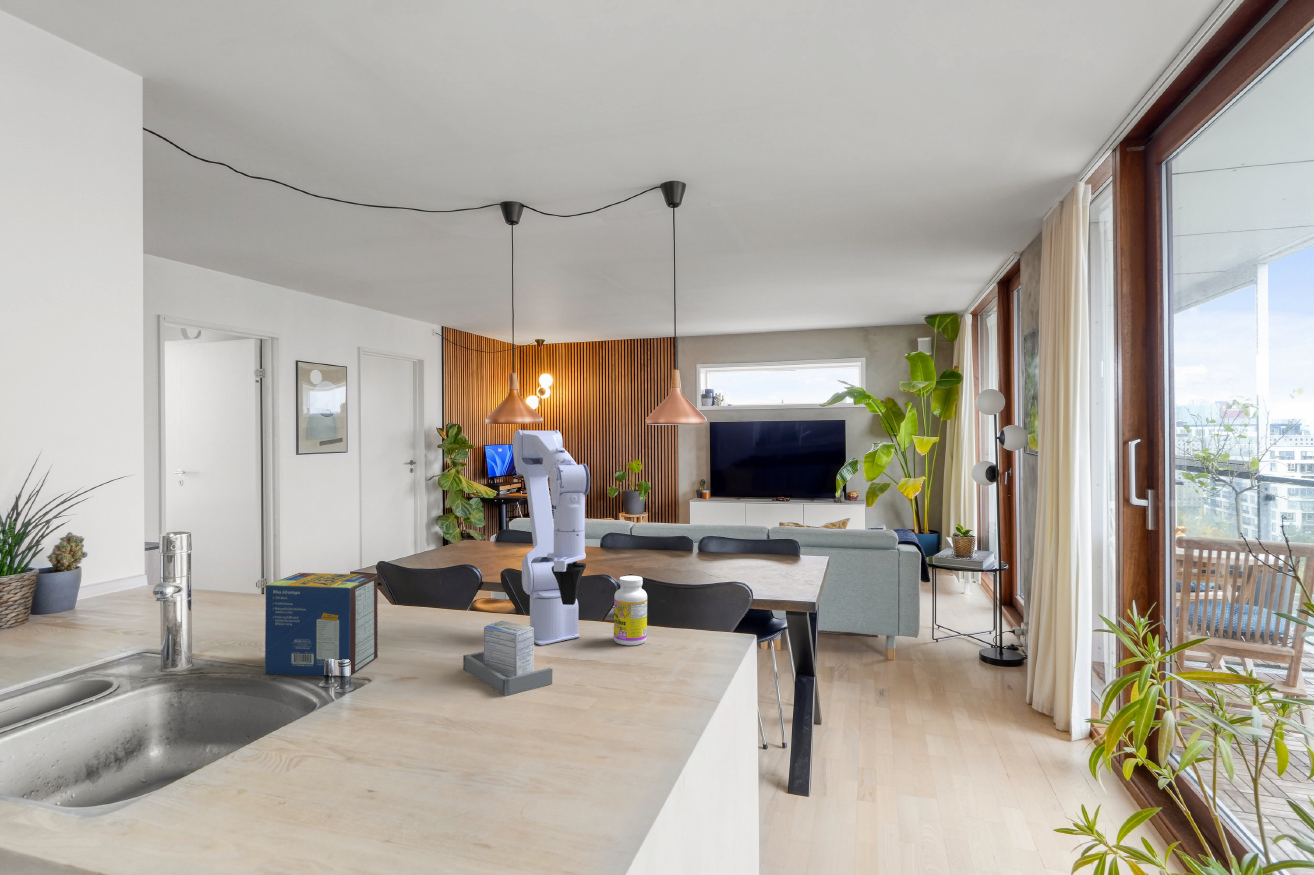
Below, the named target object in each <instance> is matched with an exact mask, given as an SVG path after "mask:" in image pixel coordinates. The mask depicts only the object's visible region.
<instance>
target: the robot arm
mask: <svg viewBox="0 0 1314 875" xmlns="http://www.w3.org/2000/svg"><path fill="white" fill-rule="evenodd" d="M563 445H564V444H563V435H562V433H561V432H560V431H559V430H558V429H554V430H528V429H527V430H526V429H525V430H524V429H523V430H521V429H517V430H516V431H515V432H514V434H513V438H512V454H513V462H514V467H515V471H516V473H518V474H520V475H522V476H523V478H524V479H523V480H524V484H525V488H526V495H527V496H526V497H527V504H528V512H529V521H530V529H531V537H532V538H531V539H532V545H533V548H532V549H531V550H529V551H528V552H527V553H526V554H525V555H524V556H523V558H522V562H521V585H522V589H523V591H524V592H525V593H526V595H529V627H533V628H534V644H536V645H539V646H544V645H549V644H554V643H558V642H563V641H567V640H572V639H577V638H580V637H581V634H580V633H579V602H578V599H577V597H578V592H579V587H580V583H581V580H582V577H583V574H584V571H585V570H586V567H587V563H584V562H579V561H582V560H585V559H586V558H587V555H586V554H587V553H586V552H585V551H586V535H585V534H586V496H587V495H588V494H589V491H590V487H591V475H590V470H589V467H588V465H587V464H586V463H580V464H577V462H576V461H575V460H574V459H573V457H572V456H571V454H570V453H569V452H568V451H567V450H566V449H565V448H564V447H563ZM548 479H549V481H548ZM549 488H550V490H549ZM550 493H551V496H550ZM552 506H553V511H552Z"/></svg>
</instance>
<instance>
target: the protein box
mask: <svg viewBox="0 0 1314 875" xmlns="http://www.w3.org/2000/svg"><path fill="white" fill-rule="evenodd" d="M378 585H379V584H378V574H373V573H372V574H371V573H364V574H361V573H332V572H331V573H327V572H326V573H322V572H321V573H318V572H317V573H315V572H314V573H313V572H298V573H295V574H292V575H289V576H287V577H284V578H281V579H278V580H275V581H273V582H269V583H267V584H265V624H264V625H265V630H264V631H265V634H264V635H265V638H264V639H265V641H264V644H265V645H264V646H265V649H264V674H265V675H281V676H282V675H285V676H314V677H325V676H324V661H325V659H328V658H331V659H335V660H342V659H349V660H350V661H351V676H353V675H355V673H357V672H359V671H360V670H361V669H363V668H365V667H366V666H367V665H368V664H370V663H372V662H373V661H375V659H378V656H379V654H378V651H379V650H378V649H379V648H378V647H379V646H378V632H379V630H378V622H379V621H378V616H379V615H378V602H379V601H378V592H379V591H378V590H379V589H378V587H379V586H378Z"/></svg>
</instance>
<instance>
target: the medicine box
mask: <svg viewBox="0 0 1314 875" xmlns="http://www.w3.org/2000/svg"><path fill="white" fill-rule="evenodd" d="M483 651H484V665H486V666H488V667H490V668H491V669H493V670H495V671H496V672H498V673H500V674H501V675H503V676H505V677H506V678H509V677H513V676H517V675H522V674H526V673H530V672H534V671H535V643H534V628H533V627H530V625H525V624H520V623H515V622H509V621H504V620H499V621H496V622H495V621H494V622H493V623H490V624H487V625H485V626H483Z"/></svg>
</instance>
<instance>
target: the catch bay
mask: <svg viewBox="0 0 1314 875" xmlns="http://www.w3.org/2000/svg"><path fill="white" fill-rule="evenodd" d="M462 659H463V661H462V664H463V666H462V667H463V668H462V670H463V671H464V672H465V673H466V672H467V674H469V675H471V676H472V677H474V678H475V679H477V680H479V681H480V682H482V683H483V684H485V685H487V686H488V687H489V688H491V689H493V690H494V691H496V692H498V693H499V694H501V695H502V696H504V697H507V696H510V695H515V694H518V693H523V692H526V691H531V690H534V689H539V688H542V687H546V686H550V685H553V668H551V667H547V668H543V669H539V670H534V672H530V673H526V674H522V675H517V676H513V677H509V678H506V677H505V676H503V675H501V674H500V673H498V672H496V671H495V670H493V669H491V668H490V667H488V666H486V665H484V650H483V651H478V652H474V653H469V654H464V655H463V658H462Z"/></svg>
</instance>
